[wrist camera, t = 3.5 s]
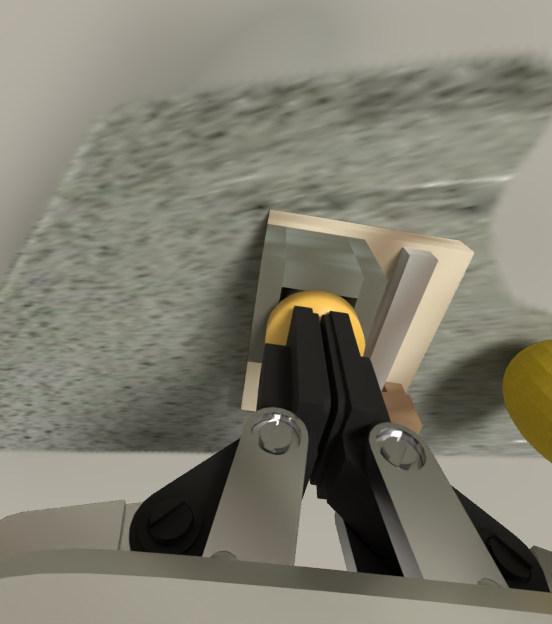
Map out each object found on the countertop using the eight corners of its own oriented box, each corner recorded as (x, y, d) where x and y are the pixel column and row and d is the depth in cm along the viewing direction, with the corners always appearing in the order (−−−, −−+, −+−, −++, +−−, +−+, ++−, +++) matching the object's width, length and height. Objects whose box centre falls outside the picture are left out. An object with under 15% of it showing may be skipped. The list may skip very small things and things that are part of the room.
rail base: (459, 240, 16) (530, 297, 11) (382, 410, 22) (407, 493, 17) (270, 209, 16) (262, 255, 11) (243, 391, 22) (231, 471, 17)
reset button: (351, 252, 14) (378, 314, 10) (333, 315, 16) (349, 391, 12) (277, 240, 14) (272, 298, 10) (266, 305, 16) (258, 378, 12)
